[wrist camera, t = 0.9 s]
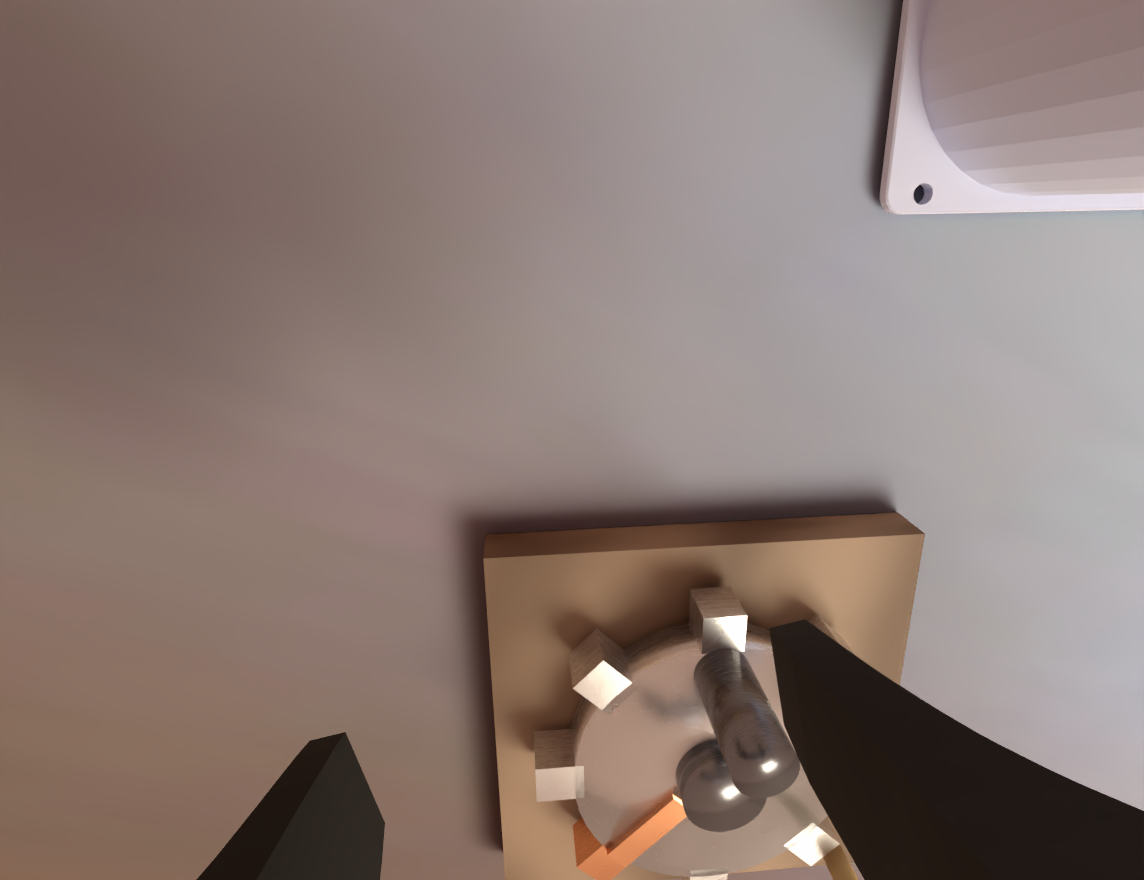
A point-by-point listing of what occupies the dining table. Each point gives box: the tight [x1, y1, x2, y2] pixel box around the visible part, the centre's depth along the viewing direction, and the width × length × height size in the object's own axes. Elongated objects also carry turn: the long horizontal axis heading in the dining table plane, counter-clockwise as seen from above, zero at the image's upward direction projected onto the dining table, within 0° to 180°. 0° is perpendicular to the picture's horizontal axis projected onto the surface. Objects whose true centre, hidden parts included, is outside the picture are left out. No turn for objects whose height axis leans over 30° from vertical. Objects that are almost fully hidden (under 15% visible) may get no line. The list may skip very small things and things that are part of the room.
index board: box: [483, 512, 925, 880], centre depth 21 cm, size 13×13×4 cm
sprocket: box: [534, 587, 855, 880], centre depth 19 cm, size 11×11×5 cm
